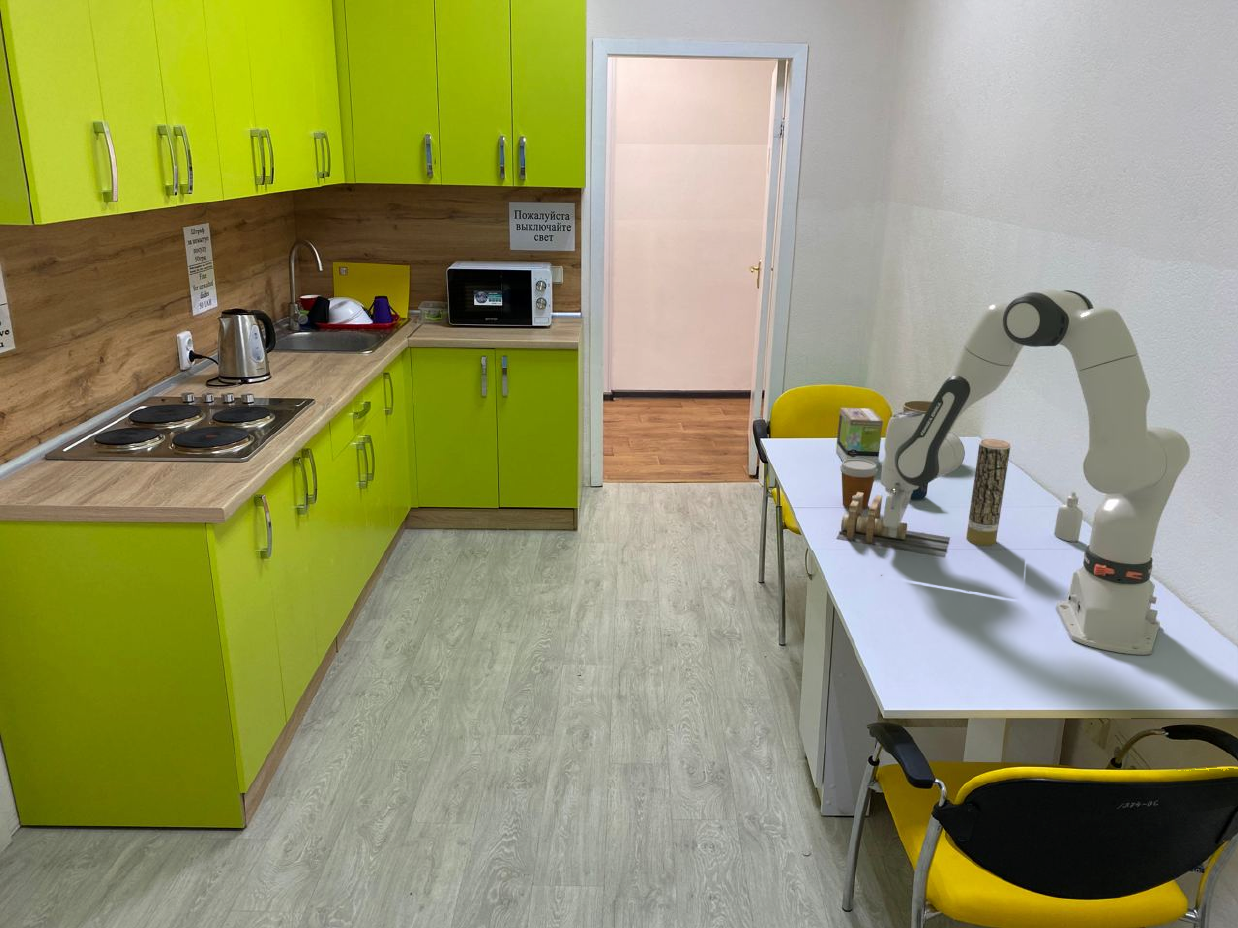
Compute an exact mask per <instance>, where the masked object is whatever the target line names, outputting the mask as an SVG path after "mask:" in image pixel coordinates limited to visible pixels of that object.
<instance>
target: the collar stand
mask: <svg viewBox="0 0 1238 928" xmlns="http://www.w3.org/2000/svg"><path fill="white" fill-rule="evenodd" d="M863 495H864V493H861V492H857V494H856V495H854V496H852V499H853V501H852V503H851V504H850V508H848V509H849V511H848V515H849V518H848V529H847V531H843V530H839V531H838V535H837V537H836V538H835V539H836V540H839V541H846V542H852V543H857V544H863V545H870V546H876V547H881V548H888V549H892V550H899V551H906V552H912V553H917V554H925V555H931V556H937V557H942V558H945V557H946V554H947V551H948V546H949V542H950V539H951V537H950V536H945V535H938V534H933V533H932V534H931V533H925V532H920V531H919V532H917V531H911V530H907V532H906V538H905V540H903V539H896V538H889V537H883V536H876V535H874V526H875V519H881V512H882V503H883V495H880V494H875V496H874V498H873V500H872V502H871V503H870V506H869V508H868V515H867V518H868V523H867V532H866V534H863V533H856V532H855V522H856V516H860V517H862V513H863V509H862V505H863Z"/></svg>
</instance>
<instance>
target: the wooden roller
mask: <svg viewBox="0 0 1238 928" xmlns="http://www.w3.org/2000/svg"><path fill="white" fill-rule="evenodd" d="M848 518H849V514H843V515H842V518H841V523H840V527H841V528H840V529H841V530H843V531H847V529H848ZM867 523H868V516H861V517H860V516H856V522H855V532H856V533H863V534H866V532H867ZM897 529H898V530H897V536H896V537H895V538H896V539H903V540H905V538H906V532H907V531H908V523H907V522H902V521H901V522H900V525H899V527H898V528H897ZM841 530H840V531H841ZM874 535H876V536H883V537H889V527H885V526H884V525H883V519H882V518H880V519H875V526H874ZM889 538H894V537H889Z"/></svg>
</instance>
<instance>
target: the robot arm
mask: <svg viewBox="0 0 1238 928" xmlns="http://www.w3.org/2000/svg"><path fill="white" fill-rule="evenodd" d="M1092 303H1093V302H1091V300H1090V299H1089V298H1088V297H1087V296H1086V295H1084V294H1082V293H1081V292H1077V291H1075V290H1070V289H1068V290H1067V289H1066V290H1065V289H1063V290H1058V289H1057V290H1056V289H1044V290H1040V291H1032V292H1031V291H1030V292H1027V293H1023V294H1022V295H1019V296H1017V297H1016V298H1014V299H1012V301H1011V302H1009V303H1008V302H995V303H992V304H990V305H988V306H987V307H986V308H985V309H984V311H983V312H982V313H981V314H980V316H979V317H978V319H977V320H976V322H975V323H974V324H973V326H972V327H971V330H970V332H969V333H968V335H967V337H966V338H965V341H964V343H963V345H962V347H961V349H960V351H959V352H958V354H957V357H956V359H955V361H954V363H953V364H952V367H951V369H950V371H949V373H948V375H947V376H946V377H945V380H944V381H943V383H942V385H941V387H940V388H939V390H938V392H937V393H936V395H935V396H934V398H933V400H932V403H931V405H930V407H929V408H928V410H927V412H926V414H925V415H924V414H923V413H920V412H916V411H908V412H903V411H902V412H897V413H896V414H894V415H892V416H891V417H890V418H889V421H888V424H887V427H886V431H885V438H884V445H883V447H884V454H885V455H884V458H883V461H882V466H881V473H880V474H881V475H880V484H881V486H882V487H884V490H885V492H886V493H887V494H886V498H885V503H884V511H883V518H882V520H883V525H884V526H885V527H889V537H894V538H895V537H896V536H897V530H898V529H897V528H898V527H899V525H900V522H901V523H902V520H903V517H904V515H905V513H906V510H907V507H908V505H909V503H910V501H911V500H910V497H911V494H912V493H913V490H915V489H917V488H918V487H919V486H923V485H926V484H928V485H929V484H930V483H932V481H934V480H936V479H938V478H940V477H942V476H945V475H946V474H948V473H951V472H953V471H955V470H956V469H959V467H961V465H963V463H964V460H965V455H966V452H965V450H966V449H965V447H964V444H963V442H962V440H961V438H959V436H957V435H956V434H954V433H952V432H951V431H952V429H953V428H954V426H955V424H956V423H957V420H958V419H959V418H960V416H962V414H963V413H965V411H966V410H967V409H969V408H971V406H972V405H975V404H976V403H977V402H979V401H980V400H981V399H983V398H985V397H987V396H989V395H990V394H992V393H993V392H996V390H997V389H999V387H1000V386H1001V385H1002V384H1003V382H1004V381H1005V380H1006V378H1007V377H1008V375H1009V373H1010V372H1011V370H1012V368H1013V367H1014V364H1015V362H1016V360H1017V359H1018V357H1019V355H1020V352H1021V351H1022V349H1023V348H1024V347H1032V348H1035V347H1036V348H1038V347H1056V346H1057V345H1061V346H1063V347H1064V348H1066V349H1067V350H1068V352H1069V354H1070V355H1071V358H1072V360H1073V364H1074V368H1075V371H1076V374H1077V378H1078V381H1079V383H1080V387H1081V391H1082V394H1083V397H1084V402H1085V404H1086V405H1085V406H1086V410H1087V417H1088V432H1089V433H1088V437H1089V441H1088V450H1087V453H1086V455H1085V457H1084V461H1083V465H1082V466H1083V467H1082V468H1083V474H1084V478H1085V480H1086V481H1087V483H1088V484H1089V485H1090V486H1091V488H1093V489H1094V490H1096V491H1097V492H1100V493H1101V494H1105V496H1104V498H1103V499H1102V501H1101V502H1100V504H1098V506H1097V508H1096V510H1095V512H1094V518H1093V521H1092V522H1093V523H1092V529H1091V534H1090V537H1089V538H1090V539H1089V543H1088V545H1087V546H1086V548H1085V550H1084V554H1083V563H1082V564H1083V565H1082V566H1081V567H1080V568H1079V569H1076V570H1074V571H1073V573H1072V576H1071V582H1070V585H1069V591H1068V596H1067V599H1066V601H1060V602H1057V604H1056V606H1055V610H1056V611H1057V613H1058V615H1059V616H1060V619H1061V621H1062V623H1063V625H1064V627H1065V629H1066V631H1067V633H1068V636H1069V638H1070V639H1071V640H1072V641H1074V642H1076V643H1079V644H1082V645H1085V646H1089V647H1091V648H1095V649H1099V650H1103V651H1109V652H1114V653H1119V654H1120V653H1122V654H1127V655H1137V656H1138V655H1151V654H1152V653H1153V648H1154V646H1155V642H1156V639H1157V635H1158V634H1159V630H1160V624H1161V622H1160V620H1158V619H1157V616H1158V610H1156V609H1151V608H1152V604H1153V605H1156V603H1157V597H1156V596H1154V592H1155V583H1153V581H1151V579H1150V578H1151V573H1152V571H1153V557H1152V554H1153V548H1154V545H1155V541H1156V537H1157V530H1158V527H1159V524H1160V520H1161V518H1162V514H1163V512H1164V510H1165V509H1166V505H1167V503H1168V501H1169V499H1170V496H1171V494H1172V491H1174V487H1175V485H1176V482H1177V480H1178V478H1179V476H1180V475H1181V474H1182V472H1183V470H1184V468H1186V466H1187V465H1188V463H1189V460H1190V458H1191V457H1190V456H1191V450H1190V445H1189V443H1188V441H1187V440H1186V438H1185V437H1184V436H1183V435H1182V434H1181V433H1180V432H1178V431H1176V430H1174V429H1171V428H1166V427H1160V426H1159V427H1157V426H1155V427H1154V426H1151V427H1149V426H1147V424H1148V423H1147V408H1148V403H1149V400H1150V399H1151V398H1150V397H1151V391H1150V387H1149V385H1148V381H1147V378H1146V374H1145V372H1144V369H1143V365H1142V362H1141V359H1140V355H1139V351H1138V349H1137V346H1136V343H1135V342H1134V339H1133V337H1132V335H1131V332H1130V329H1129V328H1128V326H1127V324H1126V323H1125V321H1124V318H1123V317H1122V315H1121V314H1120V313H1119V312H1118V311H1117V310H1116V309H1114V308H1110V307H1102V306H1100V307H1094V305H1093V304H1092Z"/></svg>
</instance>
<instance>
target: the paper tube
mask: <svg viewBox="0 0 1238 928" xmlns="http://www.w3.org/2000/svg"><path fill="white" fill-rule="evenodd" d="M1010 450H1011V443H1010V442H1008V441H1004V440H1002V439H993V438H984V439H980V441H979V444H978V450H977V456H976V457H977V458H976V464H975V465H976V466H975V472H974V480H973V484H972V485H973V487H972V493H971V499H970V500H971V501H970V509H969V513H968V514H969V515H968V521H967V522H968V524H967V530H966V537H965V538H966V540H967V542H969V543H971V544H974V545H978V546H988V547H989V546H993V545H996V543H997V537H998V531H999V524H1000V519H1001V512H1002V505H1003V498H1004V491H1005V484H1006V477H1007V472H1008V465H1009V458H1010V452H1011V451H1010Z"/></svg>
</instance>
